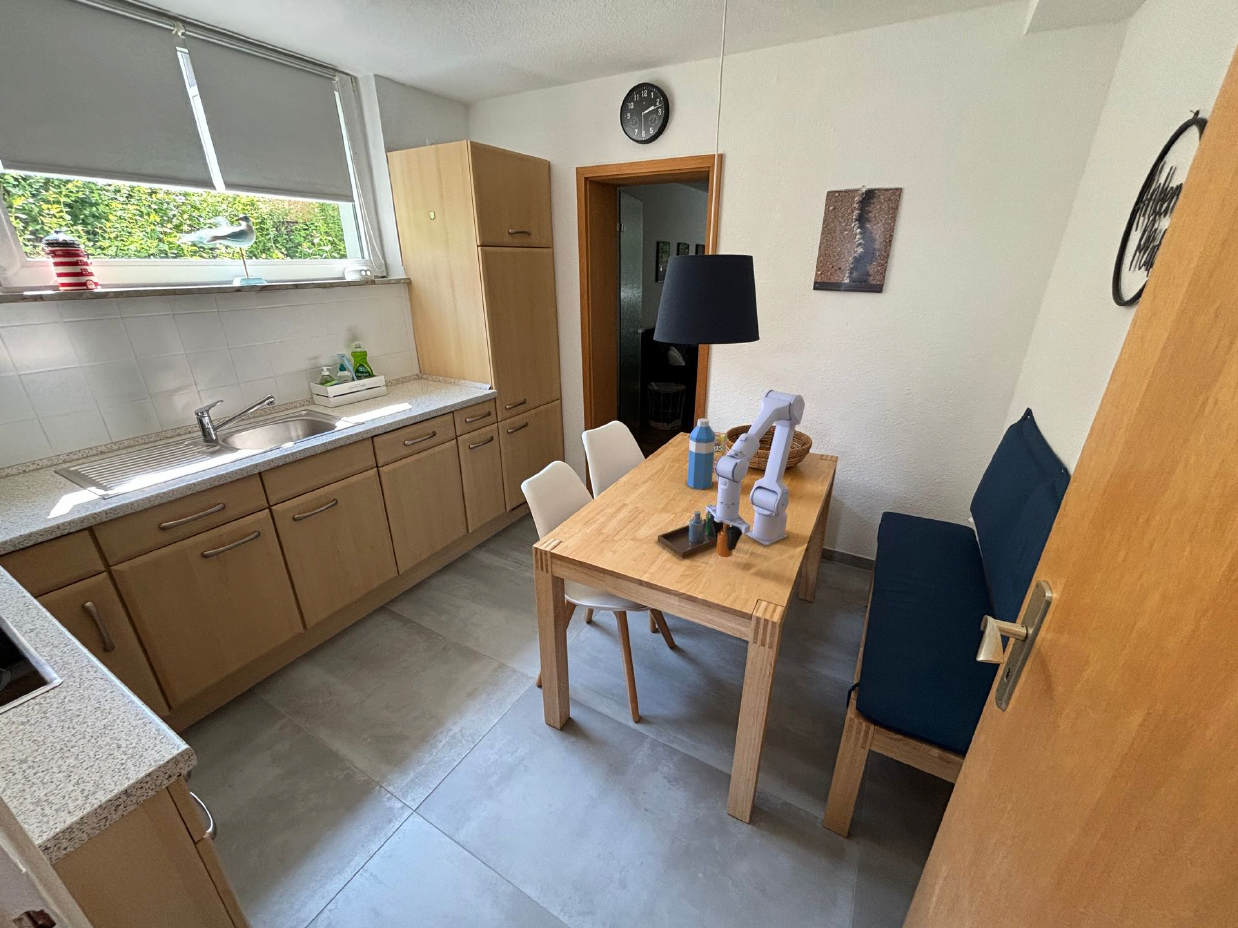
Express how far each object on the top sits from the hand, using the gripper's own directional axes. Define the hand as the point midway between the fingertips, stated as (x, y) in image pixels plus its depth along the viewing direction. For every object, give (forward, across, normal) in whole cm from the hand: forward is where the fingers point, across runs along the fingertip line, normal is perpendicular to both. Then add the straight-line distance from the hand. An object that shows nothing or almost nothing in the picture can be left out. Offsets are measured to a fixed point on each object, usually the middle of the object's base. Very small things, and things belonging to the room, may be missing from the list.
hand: (724, 545), depth 135 cm
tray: (+5, -13, +1) cm, 14 cm away
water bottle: (+6, -43, +30) cm, 53 cm away
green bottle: (+5, -13, +8) cm, 16 cm away
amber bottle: (+2, 0, 0) cm, 2 cm away
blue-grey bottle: (+5, -13, +1) cm, 14 cm away
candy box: (+6, -51, +44) cm, 68 cm away
